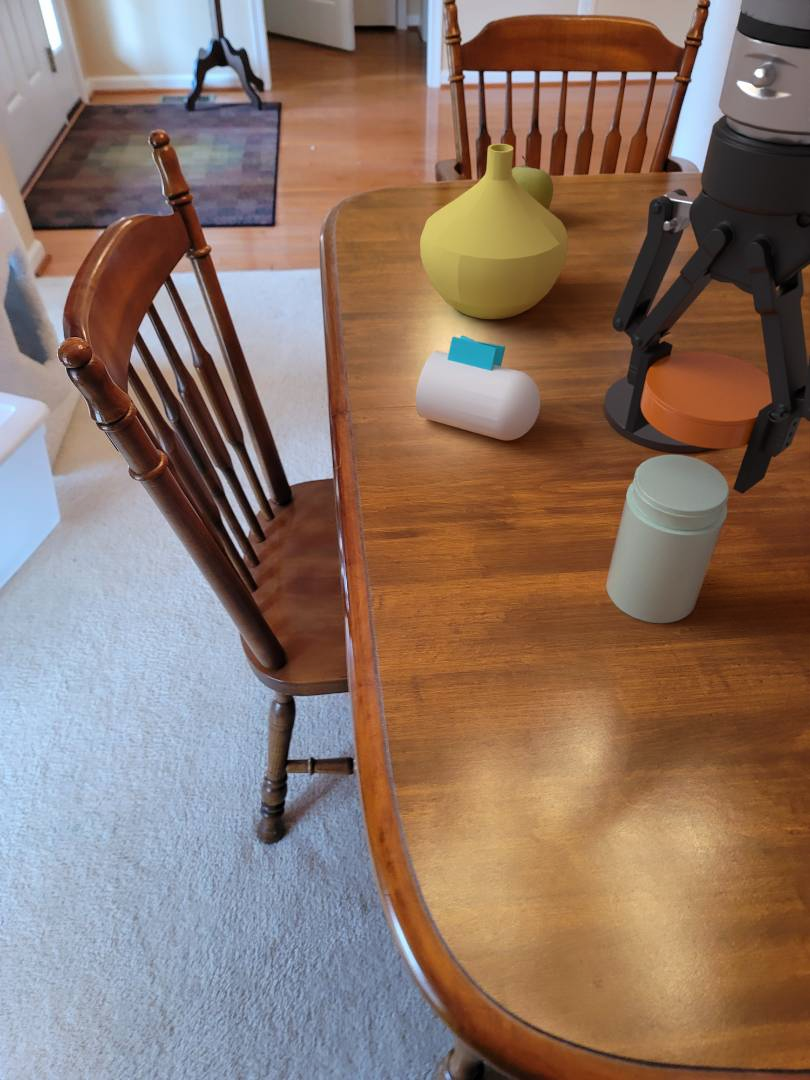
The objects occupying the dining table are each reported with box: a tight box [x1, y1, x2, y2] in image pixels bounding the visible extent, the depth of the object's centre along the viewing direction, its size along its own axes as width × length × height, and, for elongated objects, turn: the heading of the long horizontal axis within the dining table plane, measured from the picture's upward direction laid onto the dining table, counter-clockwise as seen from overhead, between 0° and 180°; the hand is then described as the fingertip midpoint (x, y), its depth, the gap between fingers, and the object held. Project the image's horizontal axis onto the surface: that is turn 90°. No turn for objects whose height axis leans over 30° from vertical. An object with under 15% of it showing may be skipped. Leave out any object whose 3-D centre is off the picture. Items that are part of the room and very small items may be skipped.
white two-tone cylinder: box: [415, 334, 541, 441], centre depth 88 cm, size 12×9×12 cm
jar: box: [605, 454, 730, 624], centre depth 67 cm, size 8×8×12 cm
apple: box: [512, 155, 554, 211], centre depth 124 cm, size 8×8×10 cm
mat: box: [603, 375, 714, 454], centre depth 90 cm, size 14×14×1 cm
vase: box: [419, 143, 569, 320], centre depth 102 cm, size 18×18×19 cm
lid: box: [641, 351, 772, 450], centre depth 58 cm, size 9×9×2 cm
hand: (691, 452), depth 61 cm, fingers closed on lid, 9 cm apart
